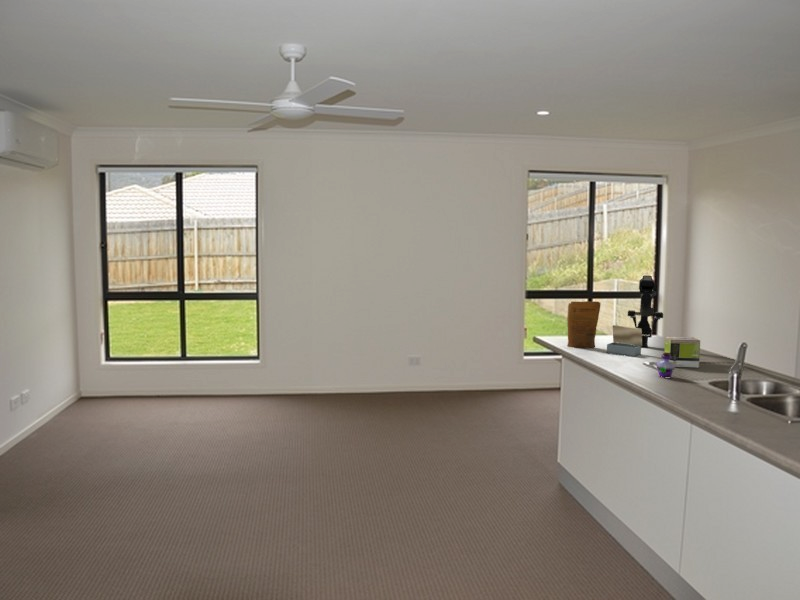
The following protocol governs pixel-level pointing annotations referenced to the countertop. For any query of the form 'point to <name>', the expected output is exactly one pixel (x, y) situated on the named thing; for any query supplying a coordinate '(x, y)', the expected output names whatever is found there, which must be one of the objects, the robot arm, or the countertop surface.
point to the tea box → (683, 351)
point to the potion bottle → (665, 365)
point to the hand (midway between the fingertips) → (644, 329)
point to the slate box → (624, 349)
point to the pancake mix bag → (582, 323)
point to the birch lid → (627, 335)
